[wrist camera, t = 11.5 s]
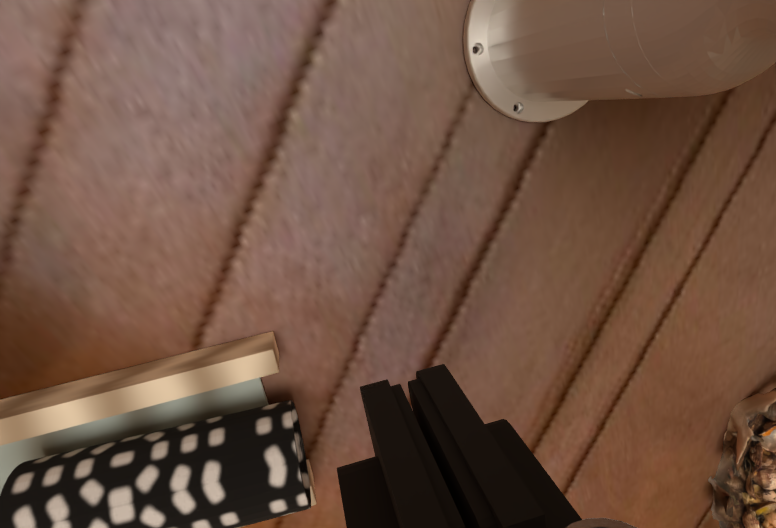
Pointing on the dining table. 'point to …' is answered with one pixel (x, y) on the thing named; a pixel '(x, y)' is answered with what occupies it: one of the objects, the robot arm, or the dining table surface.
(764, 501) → the food dish
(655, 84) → the robot arm
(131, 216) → the dining table surface
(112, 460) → the spotted tube
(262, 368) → the open-ended tray
